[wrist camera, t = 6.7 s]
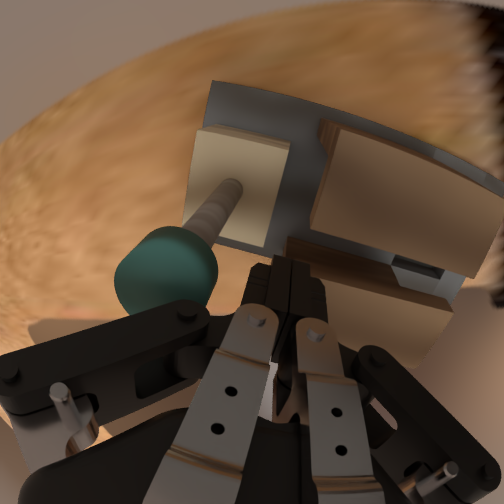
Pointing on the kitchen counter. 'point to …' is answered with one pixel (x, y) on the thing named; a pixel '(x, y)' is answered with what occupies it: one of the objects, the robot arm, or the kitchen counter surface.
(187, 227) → the slider block
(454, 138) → the kitchen counter surface
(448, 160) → the tunnel
